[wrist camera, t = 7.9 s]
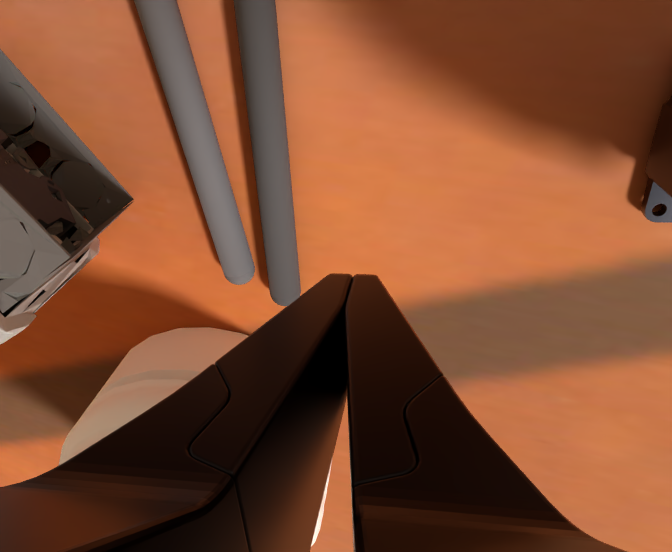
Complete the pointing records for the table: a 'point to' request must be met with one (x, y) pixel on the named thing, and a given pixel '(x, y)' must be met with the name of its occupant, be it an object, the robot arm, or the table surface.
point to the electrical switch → (45, 203)
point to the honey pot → (152, 384)
